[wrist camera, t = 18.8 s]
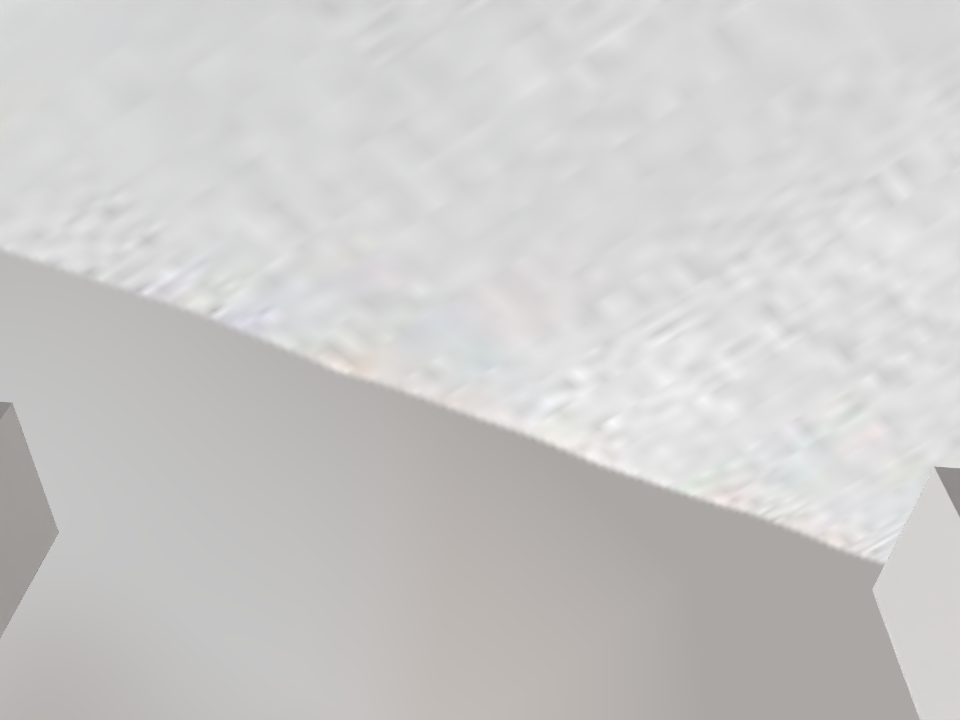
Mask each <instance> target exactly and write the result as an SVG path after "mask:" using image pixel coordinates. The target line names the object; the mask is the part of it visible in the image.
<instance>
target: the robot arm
mask: <svg viewBox="0 0 960 720" xmlns="http://www.w3.org/2000/svg"><path fill="white" fill-rule="evenodd" d="M58 533H59V532H58V529H57V527H56V524H55V521H54V518H53V515H52V512H51V510H50V507H49V504H48V501H47V498H46V496H45V493H44V490H43V487H42V484H41V482H40V479H39V476H38V473H37V470H36V468H35V465H34V462H33V459H32V456H31V454H30V451H29V448H28V445H27V442H26V440H25V437H24V434H23V431H22V428H21V426H20V423H19V420H18V417H17V414H16V412H15V409H14V406H13V403H8V402H0V638H1V636H2V634H3V632H4V630H5V629H6V627H7V625H8V623H9V621H10V620H11V618H12V616H13V614H14V612H15V611H16V609H17V607H18V605H19V603H20V601H21V600H22V598H23V596H24V594H25V593H26V591H27V589H28V587H29V585H30V583H31V581H32V580H33V578H34V576H35V574H36V573H37V571H38V569H39V567H40V565H41V564H42V561H43V560H44V558H45V556H46V555H47V553H48V551H49V549H50V547H51V546H52V544H53V542H54V540H55V538H56V537H57V535H58ZM872 591H873V593H874V596H875V599H876V601H877V604H878V607H879V610H880V612H881V615H882V618H883V620H884V623H885V626H886V629H887V631H888V634H889V637H890V640H891V642H892V645H893V648H894V651H895V653H896V656H897V659H898V661H899V664H900V667H901V670H902V672H903V675H904V678H905V681H906V683H907V686H908V688H909V691H910V694H911V697H912V700H913V702H914V705H915V707H916V710H917V713H918V716H919V719H920V720H960V469H959V468H945V467H934V468H933V470H932V472H931V474H930V476H929V478H928V480H927V482H926V484H925V486H924V488H923V490H922V492H921V494H920V496H919V498H918V500H917V502H916V504H915V506H914V508H913V510H912V512H911V514H910V516H909V518H908V520H907V522H906V524H905V526H904V528H903V530H902V532H901V534H900V536H899V538H898V540H897V542H896V544H895V546H894V548H893V550H892V552H891V554H890V556H889V558H888V560H887V562H886V564H885V566H884V568H883V570H882V572H881V574H880V576H879V578H878V580H877V582H876V584H875V586H874V588H873V590H872Z"/></svg>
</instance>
